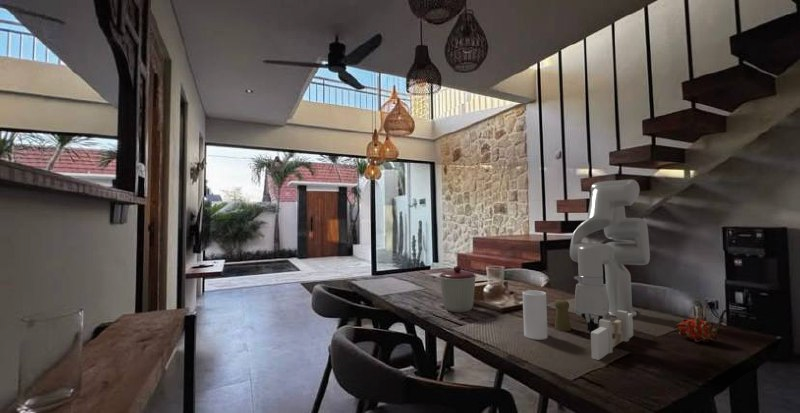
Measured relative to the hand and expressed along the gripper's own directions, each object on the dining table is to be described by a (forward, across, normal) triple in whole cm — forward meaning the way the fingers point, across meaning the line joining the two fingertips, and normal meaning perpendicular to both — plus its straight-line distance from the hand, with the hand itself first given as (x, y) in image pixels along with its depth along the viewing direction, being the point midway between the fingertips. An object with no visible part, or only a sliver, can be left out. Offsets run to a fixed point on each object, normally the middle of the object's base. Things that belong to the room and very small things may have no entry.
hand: (593, 333), depth 120 cm
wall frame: (+3, +6, 0) cm, 7 cm away
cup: (+3, -18, -4) cm, 19 cm away
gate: (+3, +7, 0) cm, 7 cm away
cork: (+3, -12, +10) cm, 16 cm away
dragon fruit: (+3, +29, +20) cm, 35 cm away
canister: (+3, -58, +13) cm, 60 cm away
